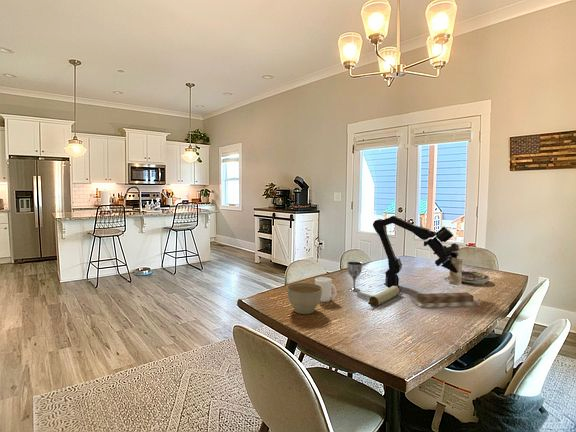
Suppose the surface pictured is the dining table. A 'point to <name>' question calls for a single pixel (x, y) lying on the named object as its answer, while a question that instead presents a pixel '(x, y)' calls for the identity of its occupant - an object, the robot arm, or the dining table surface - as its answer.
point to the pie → (472, 278)
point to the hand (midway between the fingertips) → (458, 271)
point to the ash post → (456, 277)
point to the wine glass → (354, 273)
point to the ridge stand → (445, 300)
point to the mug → (326, 288)
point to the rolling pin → (384, 296)
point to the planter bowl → (304, 297)
